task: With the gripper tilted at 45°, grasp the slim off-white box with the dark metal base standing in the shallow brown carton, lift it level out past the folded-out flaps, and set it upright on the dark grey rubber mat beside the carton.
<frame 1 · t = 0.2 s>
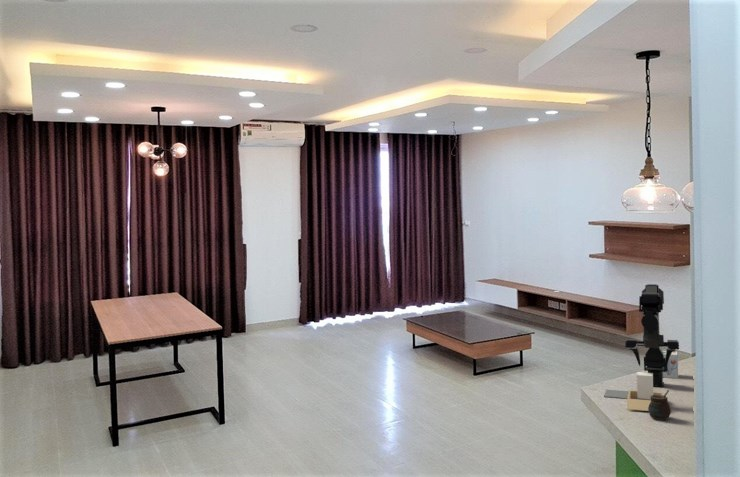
hand: (652, 366, 236), 14 cm above the table, tool pointing down, fingers open, 9 cm apart
light bulb box: (665, 376, 275), on the table
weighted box: (645, 389, 234), in the carton
mate gourd: (659, 419, 219), on the table
carton: (645, 404, 235), on the table
mat: (616, 394, 249), on the table
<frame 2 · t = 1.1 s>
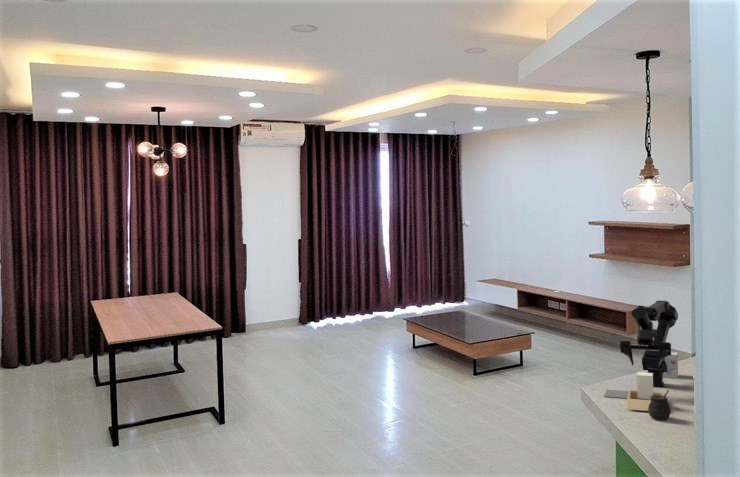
hand: (645, 365, 241), 13 cm above the table, tool tilted 45°, fingers open, 9 cm apart
nothing on the table moved.
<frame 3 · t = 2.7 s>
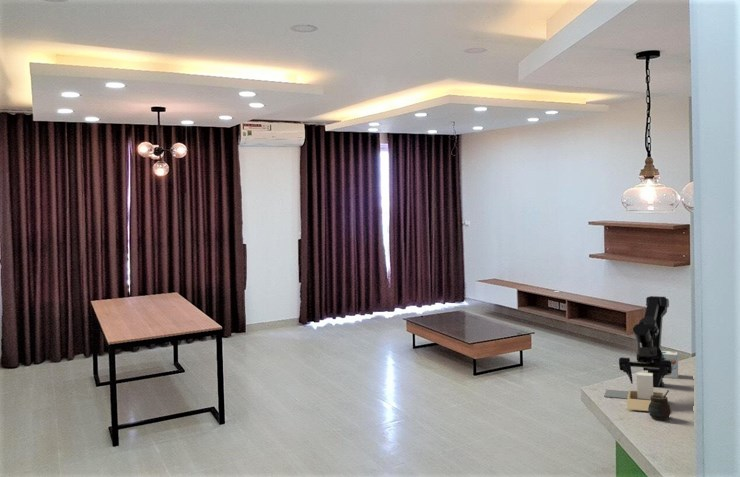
hand: (644, 384, 234), 8 cm above the table, tool tilted 45°, fingers open, 9 cm apart
nothing on the table moved.
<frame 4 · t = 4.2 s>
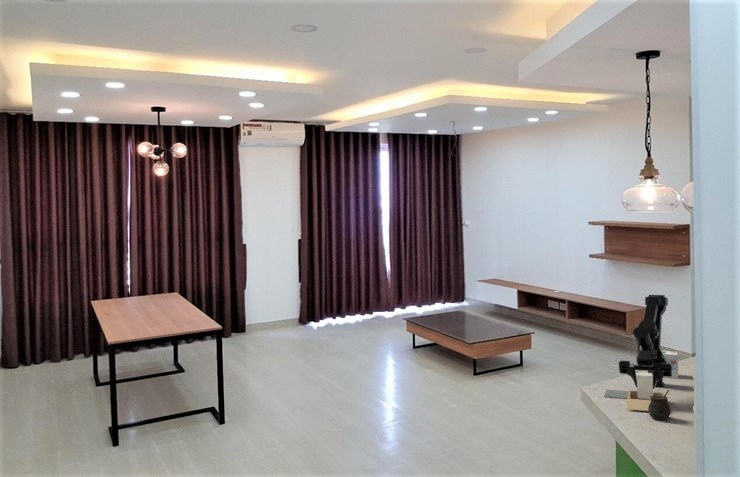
hand: (645, 387, 233), 7 cm above the table, tool tilted 45°, fingers closed on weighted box, 5 cm apart
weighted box: (645, 389, 234), in the carton, touching gripper
everything else where it was.
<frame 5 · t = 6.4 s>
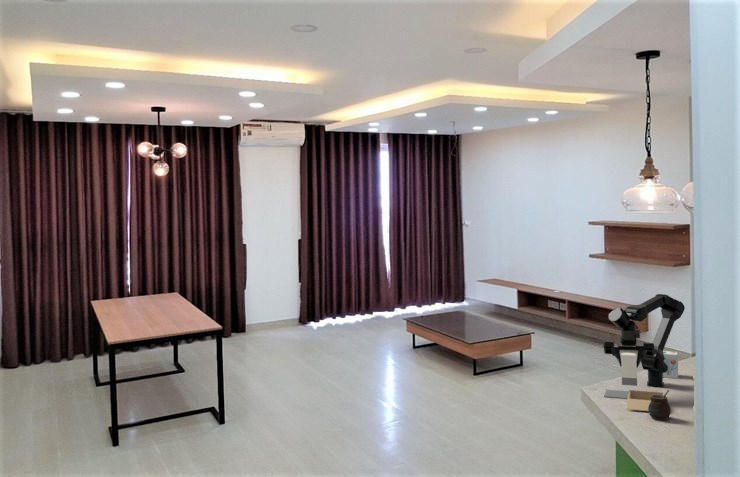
hand: (628, 366, 241), 13 cm above the table, tool tilted 45°, fingers closed on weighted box, 5 cm apart
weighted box: (629, 368, 243), point 12 cm above the table, touching gripper
everything else where it was.
when the fingers open (9 cm above the table, at t = 8.9 s): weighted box stays where it is, resting on mat.
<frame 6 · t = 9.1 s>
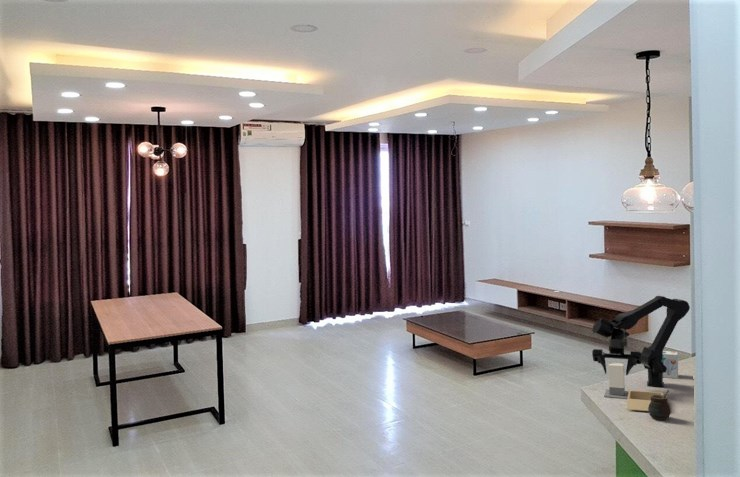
hand: (616, 374, 248), 9 cm above the table, tool tilted 45°, fingers open, 8 cm apart
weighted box: (616, 379, 249), on the mat
everything else where it was.
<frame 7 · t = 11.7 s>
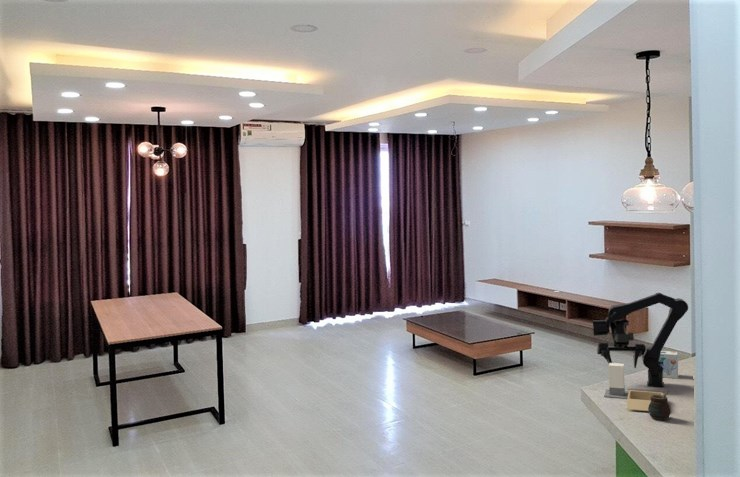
hand: (623, 367, 255), 9 cm above the table, tool tilted 35°, fingers open, 9 cm apart
nothing on the table moved.
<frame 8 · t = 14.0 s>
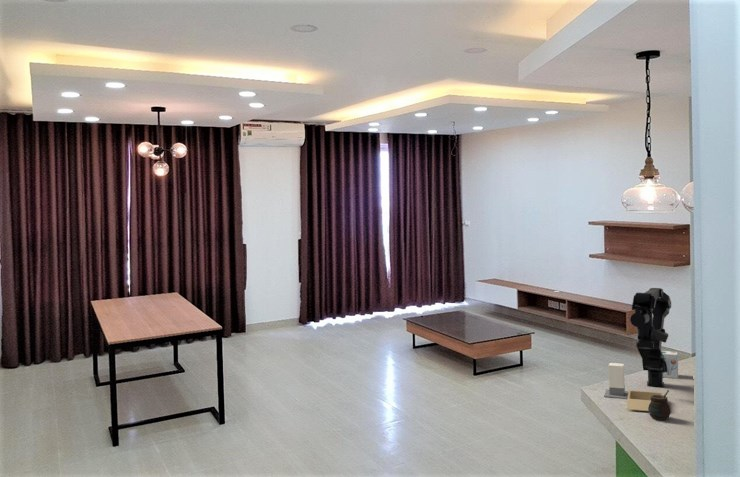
hand: (646, 361, 250), 13 cm above the table, tool pointing down, fingers open, 9 cm apart
nothing on the table moved.
at the end: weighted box inside the target area on the mat (0.1 cm from its centre), point 6.4 cm above the mat's base; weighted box tilted 0°; the gripper is holding nothing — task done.
